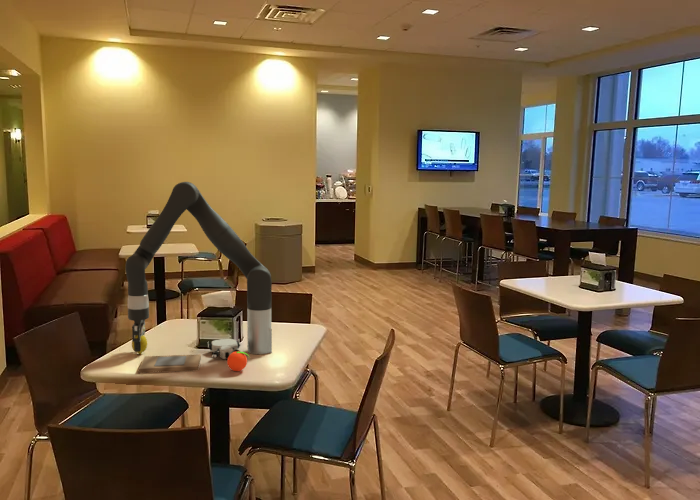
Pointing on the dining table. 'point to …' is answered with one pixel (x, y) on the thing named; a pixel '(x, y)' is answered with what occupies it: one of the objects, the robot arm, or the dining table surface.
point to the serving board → (170, 363)
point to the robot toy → (223, 347)
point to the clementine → (237, 361)
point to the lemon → (143, 344)
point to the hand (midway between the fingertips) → (139, 348)
